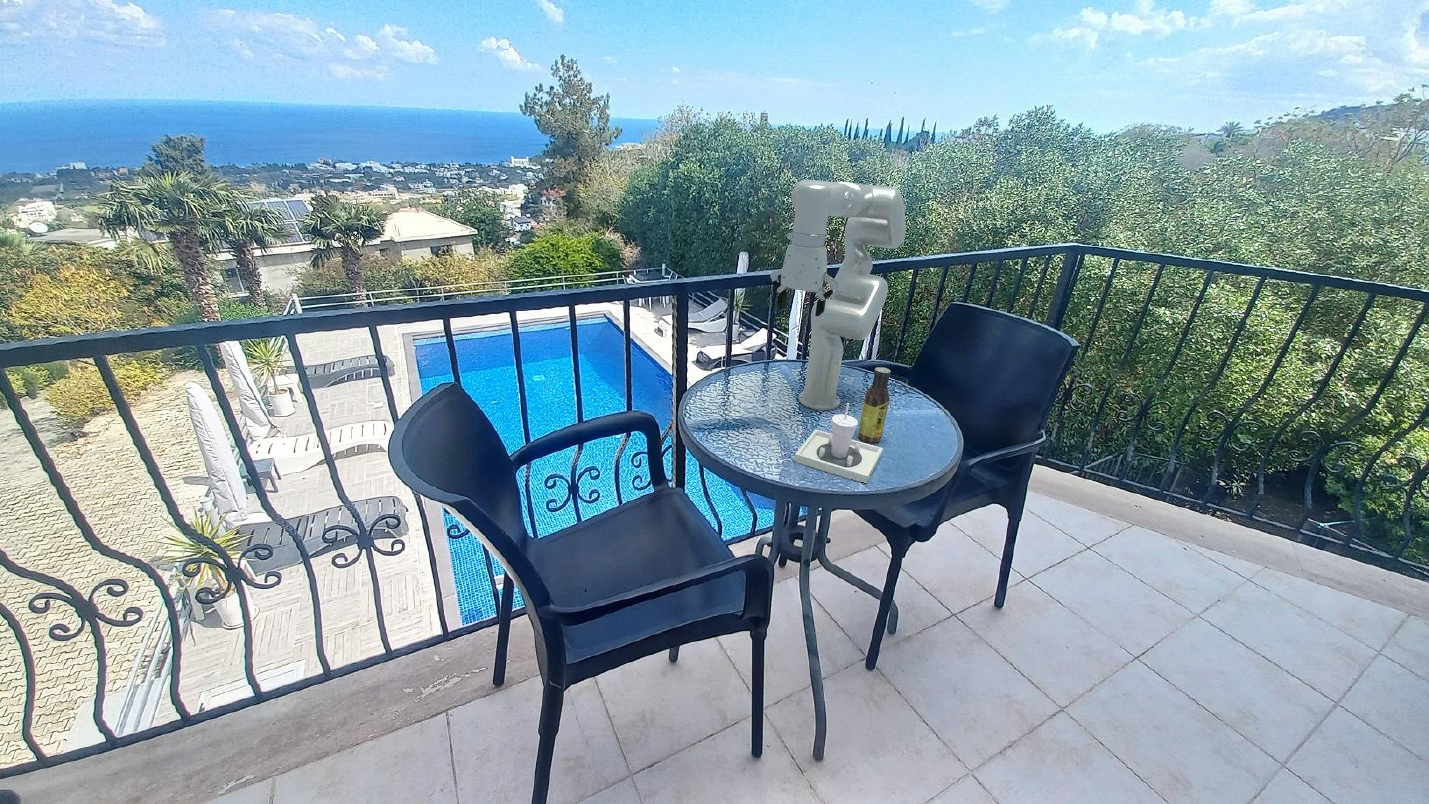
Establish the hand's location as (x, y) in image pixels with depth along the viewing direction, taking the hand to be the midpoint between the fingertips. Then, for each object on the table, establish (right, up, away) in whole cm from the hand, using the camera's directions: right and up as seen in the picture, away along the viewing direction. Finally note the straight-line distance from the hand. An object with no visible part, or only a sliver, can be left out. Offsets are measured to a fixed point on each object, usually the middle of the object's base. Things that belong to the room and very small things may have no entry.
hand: (800, 311), depth 133 cm
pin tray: (+10, -37, +2) cm, 38 cm away
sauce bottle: (+21, -32, +12) cm, 40 cm away
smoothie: (+10, -36, +2) cm, 37 cm away
